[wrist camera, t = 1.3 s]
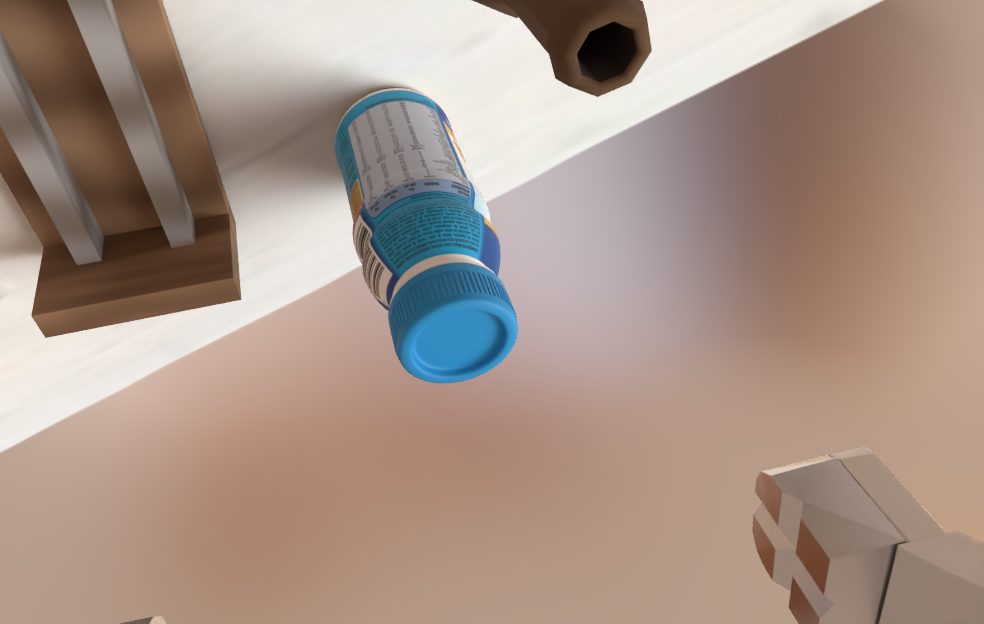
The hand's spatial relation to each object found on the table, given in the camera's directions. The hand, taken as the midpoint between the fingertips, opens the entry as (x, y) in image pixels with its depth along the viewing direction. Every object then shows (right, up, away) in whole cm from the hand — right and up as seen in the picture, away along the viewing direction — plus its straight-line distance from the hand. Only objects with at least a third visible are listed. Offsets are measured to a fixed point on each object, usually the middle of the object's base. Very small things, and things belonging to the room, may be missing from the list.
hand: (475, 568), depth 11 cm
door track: (-24, +18, +35) cm, 46 cm away
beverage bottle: (-7, +16, +44) cm, 47 cm away
